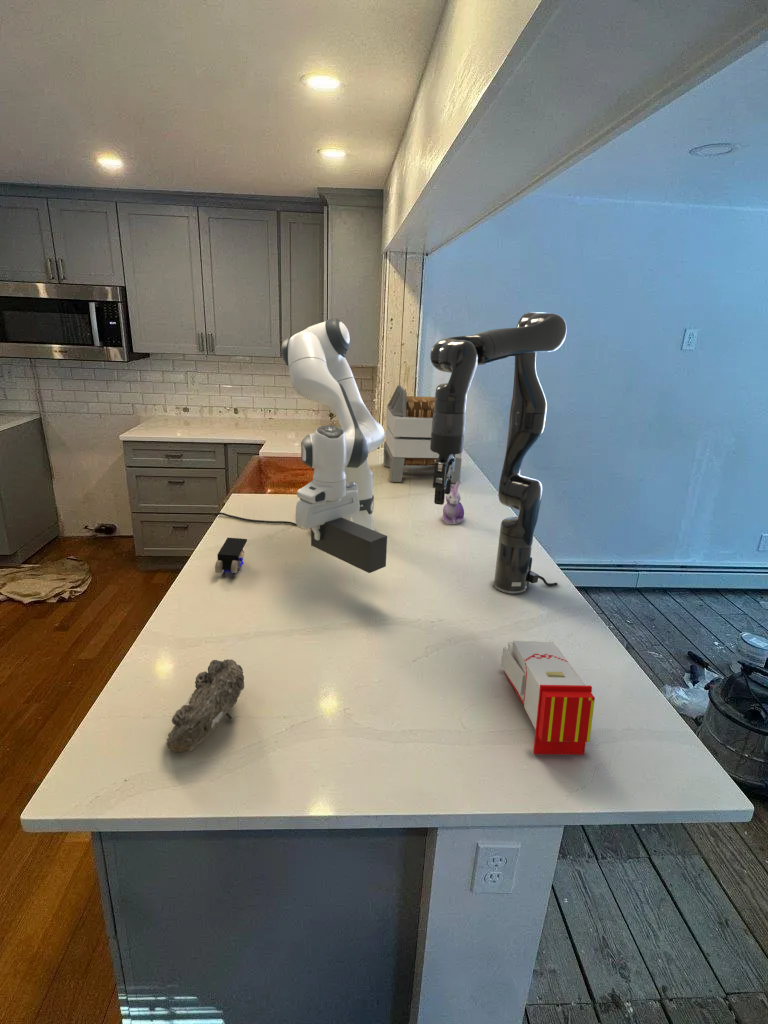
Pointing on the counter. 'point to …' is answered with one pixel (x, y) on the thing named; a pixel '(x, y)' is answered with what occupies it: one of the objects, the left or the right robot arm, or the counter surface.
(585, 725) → the toy
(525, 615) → the counter surface
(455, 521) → the figurine
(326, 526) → the box
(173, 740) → the fossil
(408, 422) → the transformer
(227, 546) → the black wheeled block
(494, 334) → the right robot arm
